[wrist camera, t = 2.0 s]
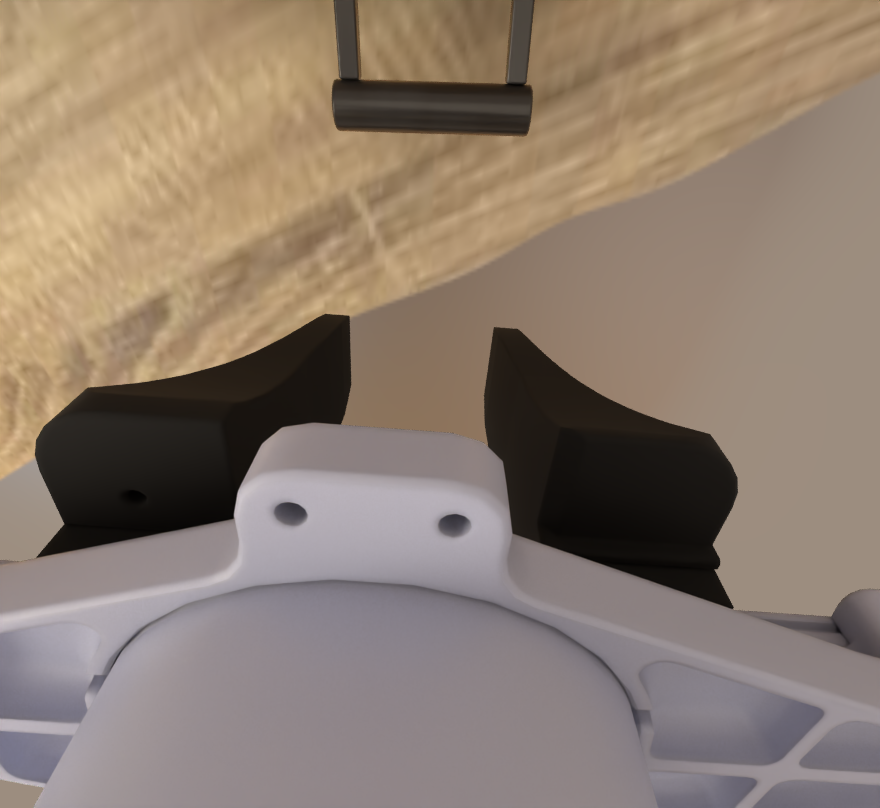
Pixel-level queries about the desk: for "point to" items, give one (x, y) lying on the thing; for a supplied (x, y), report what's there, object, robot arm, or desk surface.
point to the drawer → (432, 89)
